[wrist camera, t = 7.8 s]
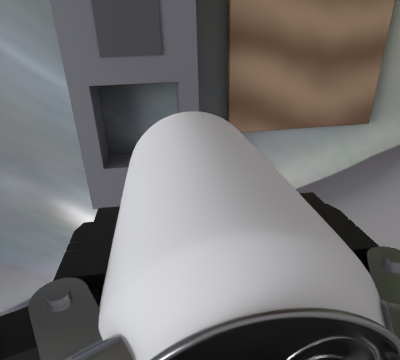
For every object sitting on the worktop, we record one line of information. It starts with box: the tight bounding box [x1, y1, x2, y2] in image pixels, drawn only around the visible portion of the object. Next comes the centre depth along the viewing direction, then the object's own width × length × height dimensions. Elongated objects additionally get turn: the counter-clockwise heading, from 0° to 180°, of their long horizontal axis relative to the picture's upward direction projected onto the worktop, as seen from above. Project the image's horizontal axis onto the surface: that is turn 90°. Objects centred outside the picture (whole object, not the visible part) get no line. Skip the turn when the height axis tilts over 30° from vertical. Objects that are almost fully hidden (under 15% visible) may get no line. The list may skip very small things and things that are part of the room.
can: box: [98, 111, 400, 360], centre depth 11 cm, size 6×6×12 cm
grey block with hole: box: [50, 0, 199, 209], centre depth 27 cm, size 24×11×5 cm, turn 2°
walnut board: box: [227, 0, 395, 132], centre depth 30 cm, size 16×16×1 cm
